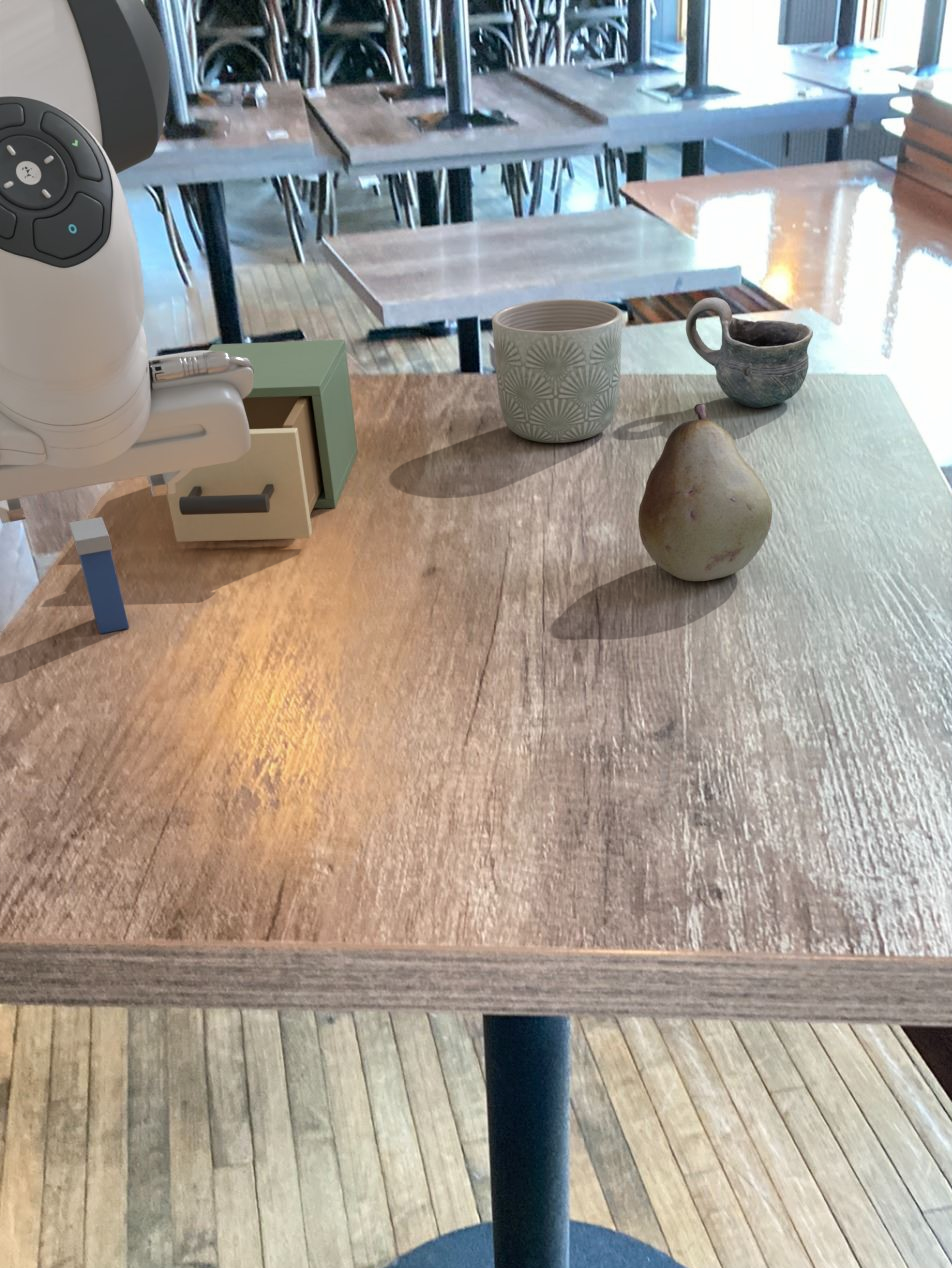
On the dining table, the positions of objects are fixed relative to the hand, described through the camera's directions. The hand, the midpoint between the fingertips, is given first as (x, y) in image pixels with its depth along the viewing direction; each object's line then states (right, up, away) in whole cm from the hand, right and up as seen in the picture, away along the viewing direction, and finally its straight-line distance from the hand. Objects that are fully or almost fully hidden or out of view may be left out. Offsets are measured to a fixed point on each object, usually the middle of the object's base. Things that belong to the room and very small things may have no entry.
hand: (87, 497), depth 84 cm
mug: (+51, +25, +52) cm, 78 cm away
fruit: (+42, 0, +19) cm, 47 cm away
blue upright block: (-3, -5, +17) cm, 18 cm away
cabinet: (+6, +14, +40) cm, 43 cm away
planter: (+32, +21, +48) cm, 61 cm away
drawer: (+5, +7, +30) cm, 31 cm away
